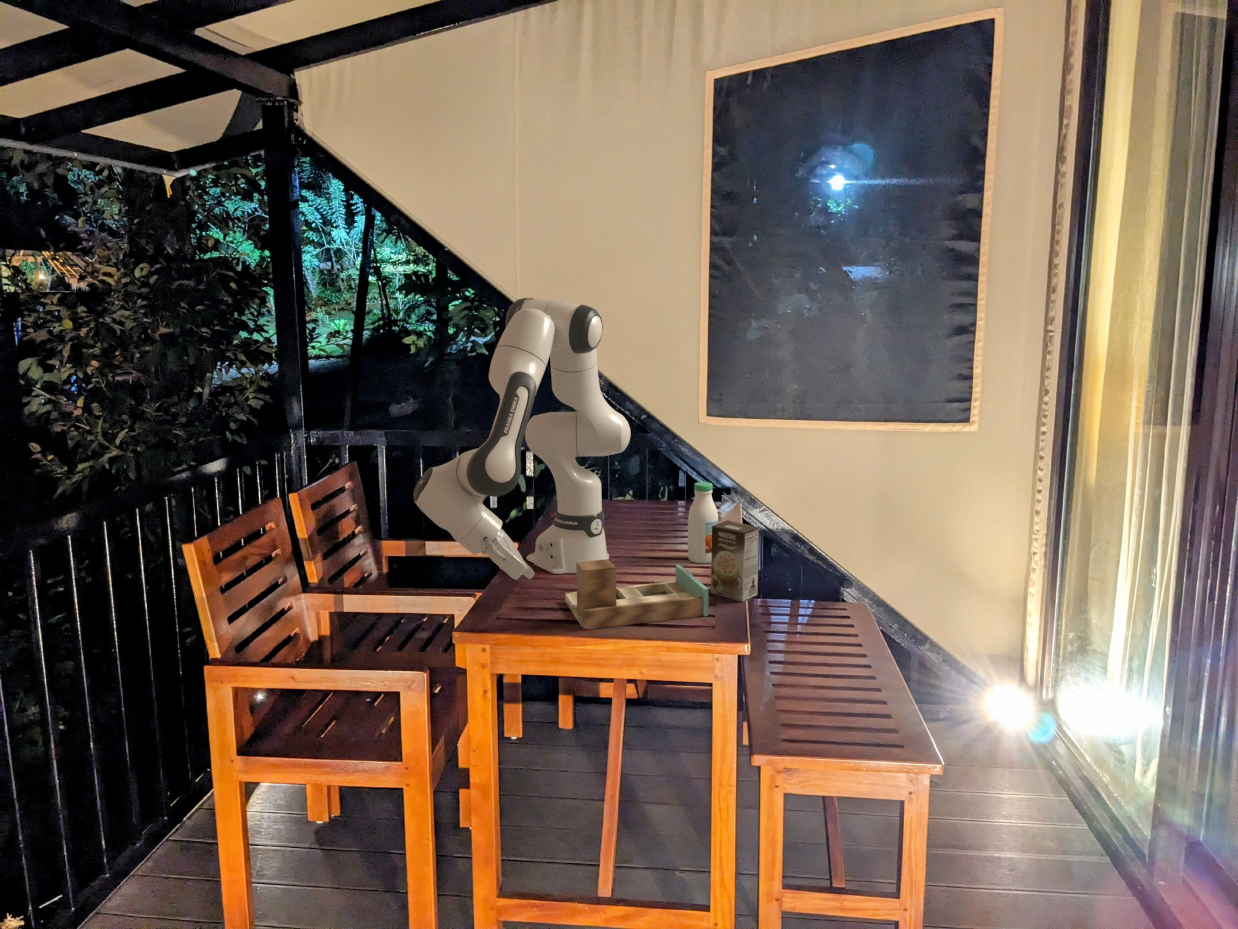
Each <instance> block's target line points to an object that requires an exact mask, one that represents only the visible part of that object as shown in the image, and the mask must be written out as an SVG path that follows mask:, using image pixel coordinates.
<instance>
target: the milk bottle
mask: <svg viewBox="0 0 1238 929" xmlns="http://www.w3.org/2000/svg"><path fill="white" fill-rule="evenodd" d="M713 486H714V485H713V483H711V482H709V481H699V482H695V483H694V486H693V489H694V491H693V492H694V498H693V502H692V503H691V505H690V508H689V511H688V515H687V516H688V518H687V558H688V560H689V561H690V562H691V563H695V564H711V561H712V526H714V525H716V524H719V512H718V509H717V507H716V505H715V503H714V500H713V497H712V493H713Z"/></svg>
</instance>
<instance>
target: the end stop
mask: <svg viewBox="0 0 1238 929" xmlns="http://www.w3.org/2000/svg"><path fill="white" fill-rule="evenodd" d="M675 581H676V582H677V583H678V584H679V585H680V586H681V587H682V588H683V589H684V590H685V591H686V592H688V593H689V594H690V595H691V596H692V597H699V596H702V597H703V616H702V617H708V616H709V588H708V587H707V586H706V585H704V583H702V582H701V581H700V580H699V579H698V578H696V577H695V576H694V575H693V574H692V573H691V572H689V571H688V570H687V569H686V568H684V566H682V564H675Z"/></svg>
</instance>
